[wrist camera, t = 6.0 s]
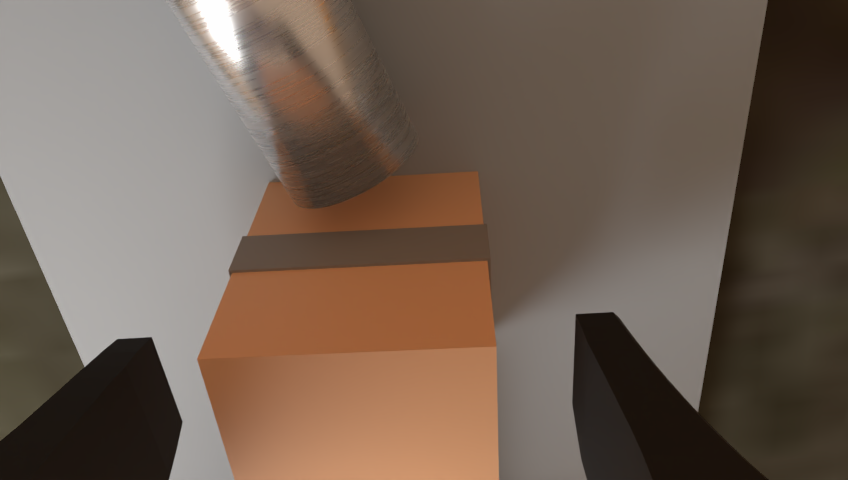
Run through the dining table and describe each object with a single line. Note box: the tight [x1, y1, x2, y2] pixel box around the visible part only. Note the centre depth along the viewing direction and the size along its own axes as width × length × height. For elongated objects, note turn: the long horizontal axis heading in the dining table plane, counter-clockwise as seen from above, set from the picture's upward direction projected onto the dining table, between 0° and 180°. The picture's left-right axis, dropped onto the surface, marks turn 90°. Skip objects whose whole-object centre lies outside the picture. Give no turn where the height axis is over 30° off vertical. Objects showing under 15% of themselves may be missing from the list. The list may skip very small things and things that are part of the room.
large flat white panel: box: [0, 0, 768, 480], centre depth 15 cm, size 22×14×1 cm, turn 5°
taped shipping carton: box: [197, 171, 499, 480], centre depth 13 cm, size 4×4×5 cm
